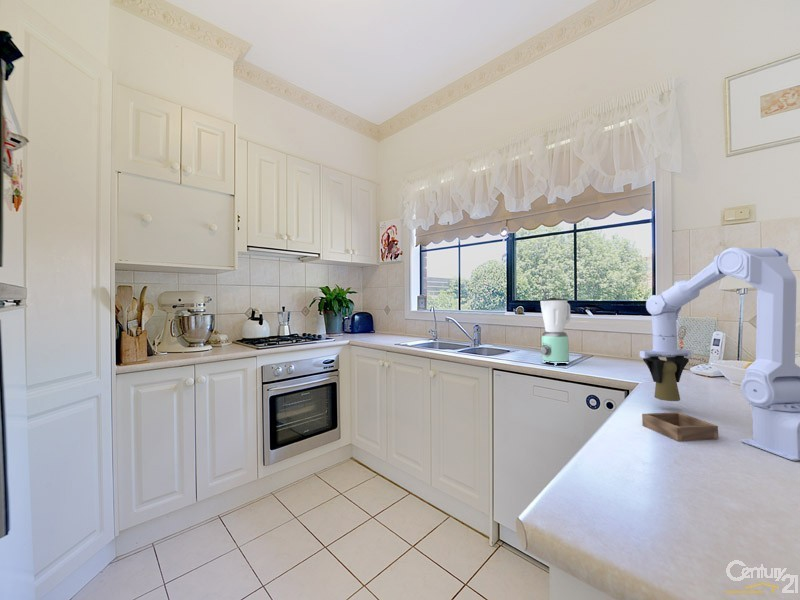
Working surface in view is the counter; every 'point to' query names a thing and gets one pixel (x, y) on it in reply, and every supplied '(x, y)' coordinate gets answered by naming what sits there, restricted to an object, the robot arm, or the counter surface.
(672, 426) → the wooden tray
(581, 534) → the counter surface
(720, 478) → the counter surface
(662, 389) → the cork
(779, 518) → the counter surface
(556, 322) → the mint green blender
